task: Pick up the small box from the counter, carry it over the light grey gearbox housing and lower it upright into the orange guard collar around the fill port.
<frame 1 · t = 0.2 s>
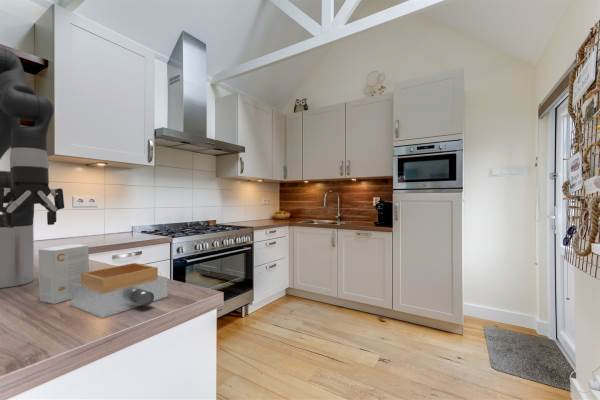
hand: (31, 226, 77), 18 cm above the counter, tool pointing down, fingers open, 8 cm apart
small box: (65, 298, 72), on the counter
gearbox housing: (120, 300, 70), on the counter
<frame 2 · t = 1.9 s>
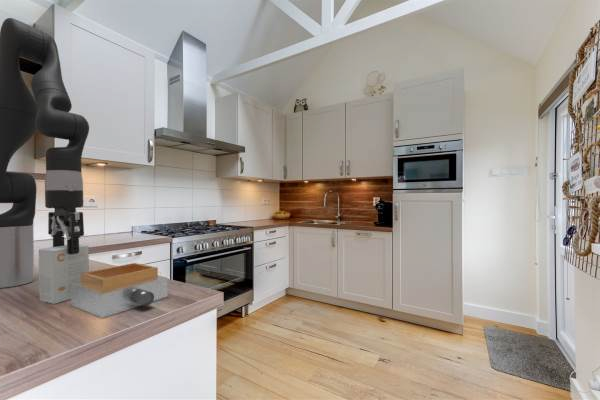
hand: (65, 252, 72), 11 cm above the counter, tool pointing down, fingers open, 8 cm apart
nothing on the counter moved.
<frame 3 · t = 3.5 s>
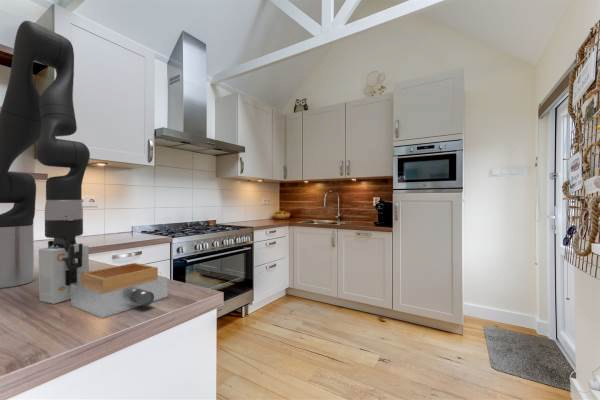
hand: (64, 282, 72), 4 cm above the counter, tool pointing down, fingers closed on small box, 6 cm apart
small box: (64, 298, 72), on the counter, touching gripper
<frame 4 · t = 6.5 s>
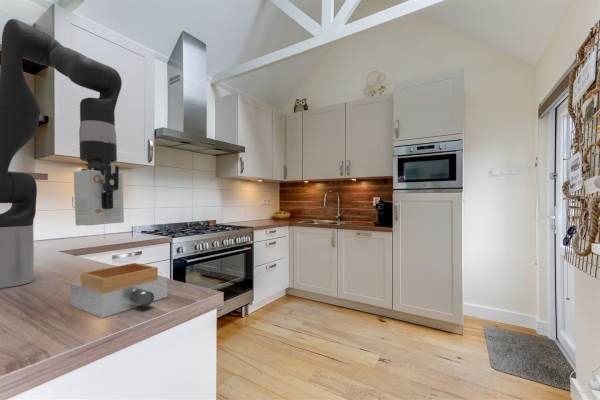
hand: (100, 208, 70), 23 cm above the counter, tool pointing down, fingers closed on small box, 6 cm apart
small box: (100, 224, 70), point 19 cm above the counter, touching gripper
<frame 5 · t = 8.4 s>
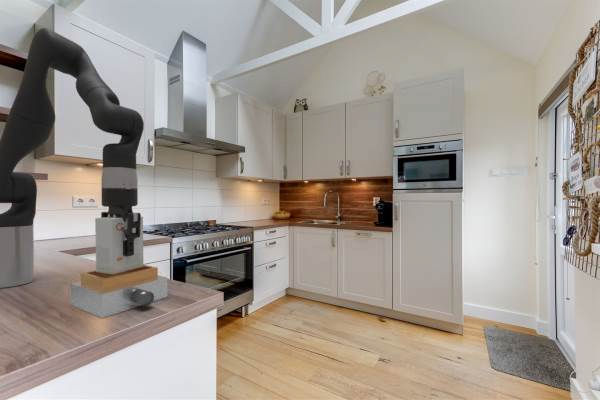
hand: (120, 254, 70), 11 cm above the counter, tool pointing down, fingers closed on small box, 6 cm apart
small box: (120, 270, 70), point 7 cm above the counter, touching gripper
when the fingers open (10 cm above the counter, at t = 9.7 s): small box stays where it is, resting on gearbox housing.
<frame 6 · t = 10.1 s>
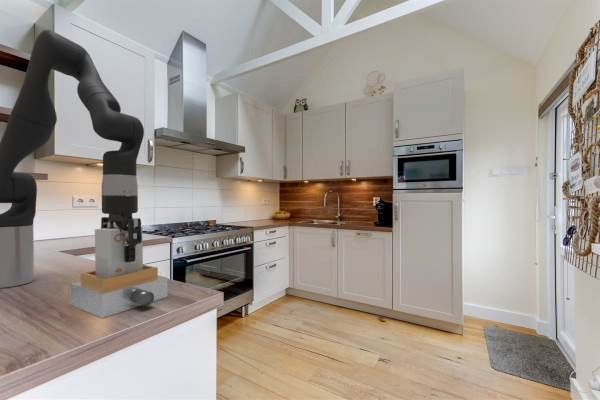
hand: (120, 259, 70), 10 cm above the counter, tool pointing down, fingers open, 8 cm apart
small box: (119, 281, 70), point 5 cm above the counter, touching gearbox housing
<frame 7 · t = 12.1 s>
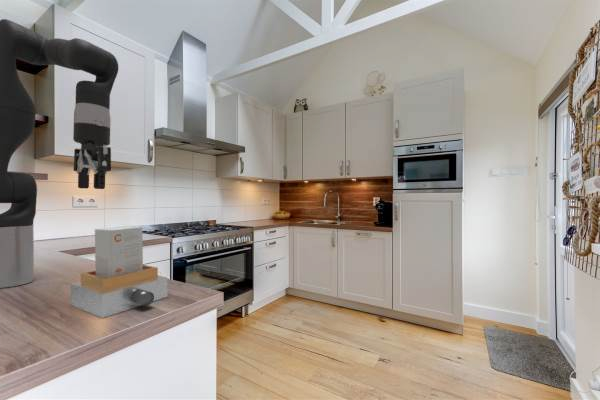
hand: (91, 188, 72), 28 cm above the counter, tool pointing down, fingers open, 8 cm apart
nothing on the counter moved.
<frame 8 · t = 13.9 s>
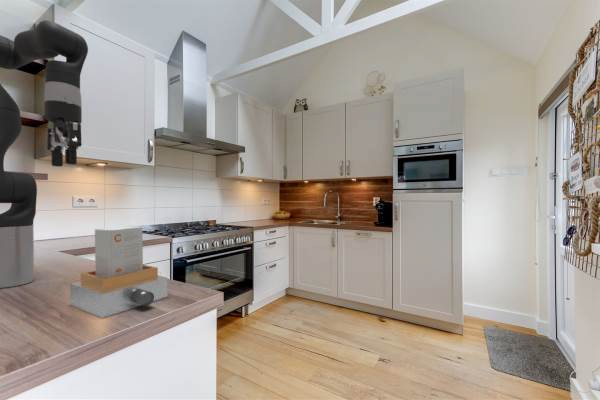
hand: (63, 165, 75), 34 cm above the counter, tool pointing down, fingers open, 8 cm apart
nothing on the counter moved.
at the end: small box 0.3 cm off-centre on the gearbox housing, point 4.8 cm above the gearbox housing's base; small box tilted 0°; the gripper is holding nothing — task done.
